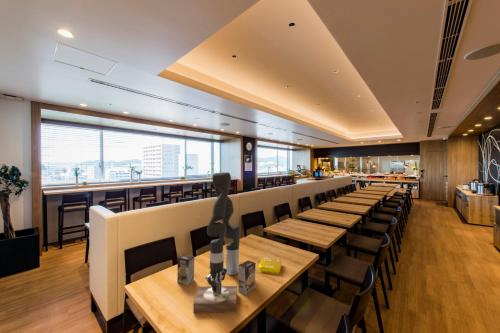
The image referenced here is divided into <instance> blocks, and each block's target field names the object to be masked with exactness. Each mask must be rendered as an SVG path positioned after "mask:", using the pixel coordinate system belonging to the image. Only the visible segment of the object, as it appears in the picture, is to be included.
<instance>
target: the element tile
mask: <svg viewBox="0 0 500 333" xmlns="http://www.w3.org/2000/svg"><path fill="white" fill-rule="evenodd" d="M281 269H282V260H281V259H278V258H277V259H275V258H270V257H269V258H267V257H262V259H261V260H260V263H259V265H258V272H259V271H260V273H263V272H264V273H265V274H269V273H273V274H272V275H276V274H278V275H280V274H279V273H281ZM264 273H263V274H264Z"/></svg>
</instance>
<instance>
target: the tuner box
mask: <svg viewBox="0 0 500 333" xmlns="http://www.w3.org/2000/svg"><path fill="white" fill-rule="evenodd" d="M220 295H221V296H222V297H223V299H221V298H220V297H219V296H218V295H217V296H215V295H213V291H212V286H211V285H210V286H209V285H207V286H206V285H205V286H203V285H201V286H199V288H198V290H197V293H196V296H195V299H194V300H193V304H192V305H193V306H192V308H193V310H192V312H193V314H219V313H221V314H222V313H223V314H224V313H225V314H227V313H229V314H230V313H231V314H232V313H237V297H238V285H227V286H226V285H221V294H220Z"/></svg>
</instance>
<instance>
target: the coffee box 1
mask: <svg viewBox="0 0 500 333" xmlns="http://www.w3.org/2000/svg"><path fill="white" fill-rule="evenodd" d="M194 281H195V256H194V255H189V254H184V253H183V254H182V255H179V256H178V257H177V283H180V284H183V285H190V284H192V283H193V282H194Z"/></svg>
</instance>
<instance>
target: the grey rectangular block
mask: <svg viewBox="0 0 500 333" xmlns="http://www.w3.org/2000/svg"><path fill="white" fill-rule="evenodd" d="M221 286H222V282H220V281H219V280H217V281H216V292H213V295H215V296H217V295H218V296H219V297H220V298H221V299H223V297H222V296H221V295H220V294H221Z"/></svg>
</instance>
